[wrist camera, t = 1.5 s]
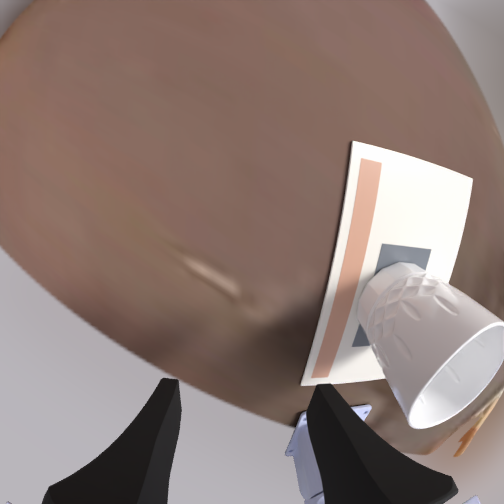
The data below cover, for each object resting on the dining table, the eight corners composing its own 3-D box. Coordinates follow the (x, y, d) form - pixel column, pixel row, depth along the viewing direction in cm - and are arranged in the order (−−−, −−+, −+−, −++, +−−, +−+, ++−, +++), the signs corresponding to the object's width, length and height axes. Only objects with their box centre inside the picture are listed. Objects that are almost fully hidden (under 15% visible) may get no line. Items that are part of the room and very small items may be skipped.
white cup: (337, 341, 21) (384, 441, 11) (364, 248, 18) (455, 328, 9) (411, 338, 21) (468, 412, 12) (441, 258, 19) (526, 317, 9)
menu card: (407, 373, 23) (408, 374, 23) (300, 384, 22) (300, 386, 22) (471, 178, 17) (473, 179, 17) (351, 140, 16) (353, 140, 16)
